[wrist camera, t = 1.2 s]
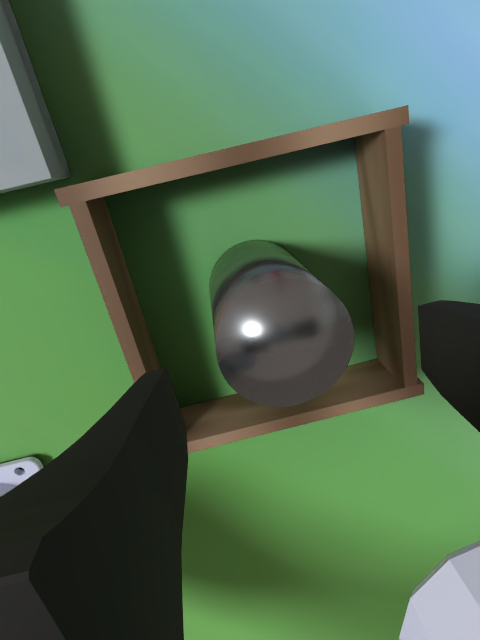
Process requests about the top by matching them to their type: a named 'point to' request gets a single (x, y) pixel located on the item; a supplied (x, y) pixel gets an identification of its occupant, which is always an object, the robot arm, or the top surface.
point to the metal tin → (276, 326)
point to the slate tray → (24, 117)
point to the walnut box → (382, 259)
